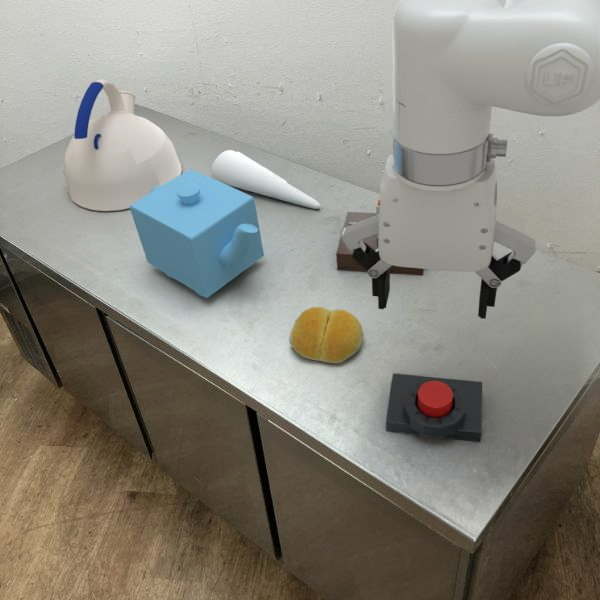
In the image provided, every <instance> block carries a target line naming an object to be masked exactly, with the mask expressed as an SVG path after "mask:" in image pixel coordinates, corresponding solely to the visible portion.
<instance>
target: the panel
mask: <svg viewBox="0 0 600 600" xmlns="http://www.w3.org/2000/svg"><path fill="white" fill-rule="evenodd" d="M374 216H376V212H362V211H361V212H359V211H347V214H346V216H345V220H344V223H343V227H342V231H341V235H340V237H339V242H338V245H337V249H336V253H335V255H336V257H335V258H336V269H337V270H339V271H350V272H351V271H353V272H368V271H367V270H366V269H365V268H364V267H363V266H361V265H360V264H359V263H358V262H356V261H355V260H354V259H353V257H352V255H353V254H352V253H351V251H349V250H348V248H347V247H346V245H345V244H344V242H343V241H342V239H341V236H342V233H343V230H344V228H345V227H347V226H350V225H353V224H355V223H358V222H361V221H363V220H366V219H369V218H371V217H374ZM362 241H363V242H365V243H366V244H367V245H369V246H370V247H371V248H372V249H373V250H377V249H378V238H377V234H376V235H374V236H371V237H368V238H365V239H362ZM424 271H425V269H422V268H410V267H400V266H394V265H392V266H391V267H390V274H396V275H397V274H399V275H412V276H413V275H415V276H424Z"/></svg>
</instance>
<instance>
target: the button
mask: <svg viewBox="0 0 600 600" xmlns="http://www.w3.org/2000/svg"><path fill="white" fill-rule="evenodd" d="M452 401H453V392H452V390H451V388H450V387H449V386H448V385H446V384H445V383H443V382H439V381H429V382H426V383H424V384H423V385H422V386H421V387H420V388H419V391H418V407H419V409H420V411H421V412H422V413H423V414H425V415H427V416H429V417H433V418H439V417H443V416H445V415H447V414H448V413H449V412H450V411H451V408H452Z"/></svg>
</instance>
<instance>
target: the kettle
mask: <svg viewBox="0 0 600 600" xmlns="http://www.w3.org/2000/svg"><path fill="white" fill-rule="evenodd" d="M102 90H103V91H104V92H105V95H106V97H107V99H108V102H109V107H110V111H109V112H107V113H105V114H101V115H98V116H96V117H94V118H92V119H90V118H91V114H92V111H93V108H94V106H95V102H96V100H97V99H98V96H99V94H100V93H101V91H102ZM136 98H137V97H136V96H135V94H134V93H132V92H131V91H128V90H120V91H119V88H118V87H117V86H116V85H115V84H114V82H112V81H110V80H107V79H105V78H100V79H97V80H95V81H94V82H91V83H90V84H89V86H88V87H87V88H86V91H85V92H84V95H83V97H82V99H81V101H80V105H79V107H78V109H77V114H76V119H75V125H74V134H73V136H72V138H71V139H70V141H69V144H68V146H67V148H66V149H65V152H64V160H63V161H64V164H63V176H64V180H65V183H66V187H67V191H68V195H69V197H70V199H71V201H72V202H74V203H75V204H77V205H78V206H79V207H82V208H83V209H84V208H85V209H88V210H91V211H96V212H117V211H118V212H120V211H125V210H130V207H129V206H130V205H131V204H133V203H134V202H136V201H138V200H140V199H141V198H143V197H144V196H146V195H148V194H149V193H150V191H151V190H152V189H153V188H154V187H156V186H159V185H164V184H166V183H168V182H169V181H171V180H173V179H174V178H176V177H178V176H180V175H181V174H182V171H183V169H182V164H181V161H180V160H179V156H178V155H177V152H176V149H175V146H174V143H173V142H172V140H171V139H170V138H169V137H168V136H167V134H166V133H165V132H164V131H163V129H161V127H159V126H158V125H156V124H155V123H153V122H152V121H150V120H149V119H146V118H145V117H143V116H139V115H135V106H136V105H135V104H136V102H135V100H136Z"/></svg>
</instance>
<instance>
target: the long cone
mask: <svg viewBox="0 0 600 600" xmlns="http://www.w3.org/2000/svg"><path fill="white" fill-rule="evenodd" d="M210 170H211V171H210V175H211V178H212V179H215V180H217V181H219V182H221V183H224V184H226V185H228V186H230V187H232V188H236V189H241V190H244V191H248V192H252V193H254V194H258V195H262V196H265V197H269V198H273V199H276V200H280V201H284V202H287V203H291V204H294V205H298V206H302V207H305V208H309V209H314V210H319V209H321V207H322V205H321V204H320V203H319V201H317V200H316V199H314V198H313V197H312V196H310V195H308V194H306V193H305V192H303V191H301V190H299V189H298V188H296V187H295V186H293V185H291V184H290V183H288V181H287V180H286V179H284V178H282V177H280V176H279V175H277V174H276V173H274V172H273V171H271V170H270V169H268V168H266V167H264V166H263V165H261V164H260V163H258V162H257V161H255V160H253V159H252V158H250V157H248V156H247V155H245V154H243V153H242V152H240V151H235V150H232V149H229V150H228V149H227V150H224V151H223V152H221V153H220V154H219V155H218V156H216V158H215V160H214V161H213V163H212V166H211V169H210Z"/></svg>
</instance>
